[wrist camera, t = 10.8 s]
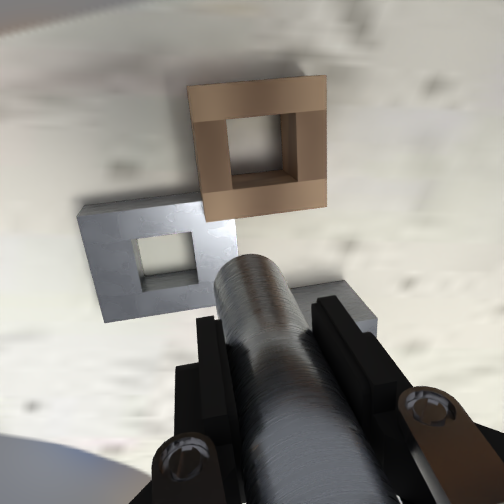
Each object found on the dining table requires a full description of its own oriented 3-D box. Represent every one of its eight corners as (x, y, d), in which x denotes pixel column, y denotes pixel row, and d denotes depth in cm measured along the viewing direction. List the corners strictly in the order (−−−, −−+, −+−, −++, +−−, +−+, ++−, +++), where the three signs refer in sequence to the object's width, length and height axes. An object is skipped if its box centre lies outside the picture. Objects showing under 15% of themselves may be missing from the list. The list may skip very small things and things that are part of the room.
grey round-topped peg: (280, 248, 16) (504, 631, 5) (285, 310, 17) (474, 731, 6) (208, 260, 15) (275, 692, 5) (218, 321, 17) (290, 788, 6)
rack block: (306, 75, 27) (326, 75, 24) (308, 191, 30) (326, 206, 27) (186, 86, 26) (188, 86, 23) (202, 205, 29) (206, 222, 26)
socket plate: (228, 188, 29) (232, 197, 27) (238, 286, 32) (242, 301, 30) (84, 205, 28) (76, 216, 26) (109, 305, 31) (104, 323, 29)
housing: (344, 280, 34) (377, 318, 29) (343, 339, 36) (373, 384, 31) (275, 291, 33) (295, 332, 28) (278, 350, 36) (297, 399, 30)
